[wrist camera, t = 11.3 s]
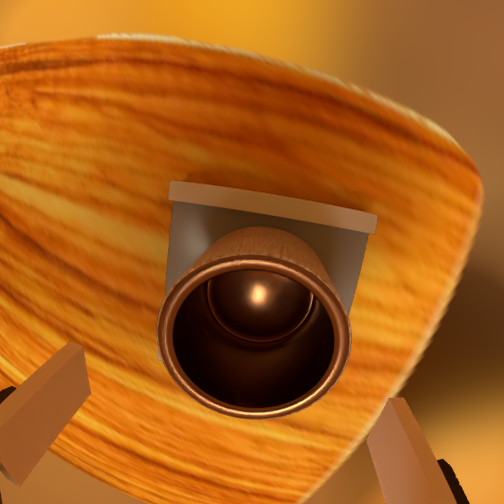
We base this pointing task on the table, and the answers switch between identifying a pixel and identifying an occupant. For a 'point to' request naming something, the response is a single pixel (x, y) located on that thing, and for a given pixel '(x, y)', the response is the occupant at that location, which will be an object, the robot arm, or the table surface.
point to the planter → (255, 326)
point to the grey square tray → (270, 215)
